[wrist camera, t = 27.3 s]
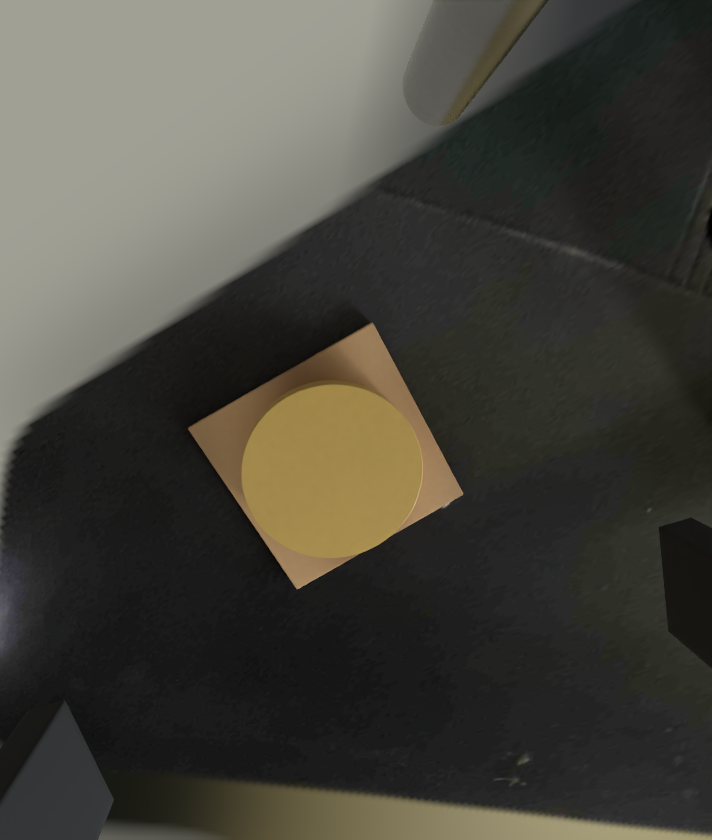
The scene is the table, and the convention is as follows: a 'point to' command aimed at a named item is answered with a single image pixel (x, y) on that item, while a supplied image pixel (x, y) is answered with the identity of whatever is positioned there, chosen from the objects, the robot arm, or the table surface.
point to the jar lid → (331, 469)
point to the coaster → (343, 360)
